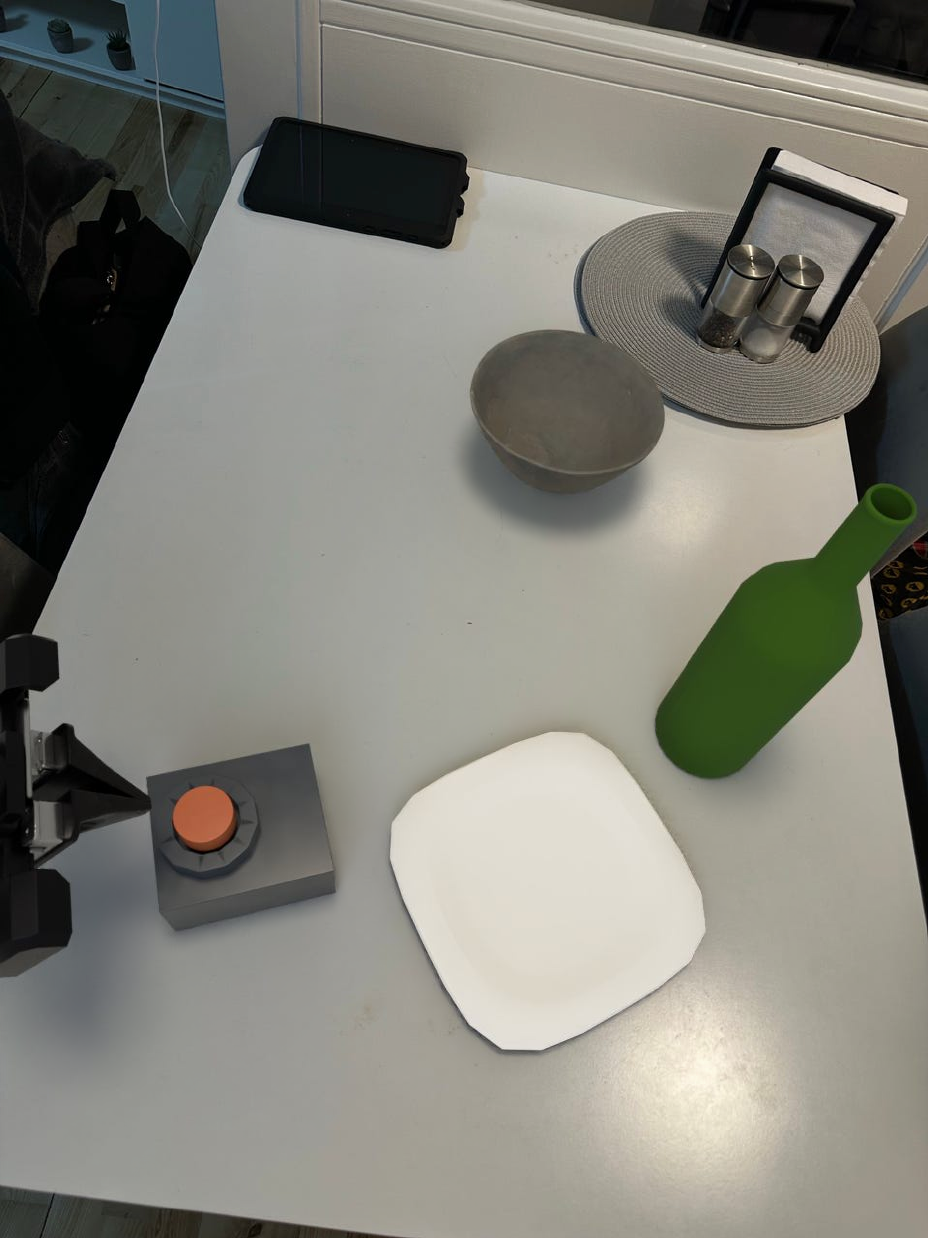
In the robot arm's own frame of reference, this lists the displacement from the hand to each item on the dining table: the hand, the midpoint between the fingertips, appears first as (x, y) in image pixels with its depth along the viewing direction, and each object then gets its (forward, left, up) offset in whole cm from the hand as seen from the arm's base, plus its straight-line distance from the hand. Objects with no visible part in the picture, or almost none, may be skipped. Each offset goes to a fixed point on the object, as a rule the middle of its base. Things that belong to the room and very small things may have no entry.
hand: (147, 806), depth 56 cm
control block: (+5, 0, -13) cm, 14 cm away
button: (+3, 0, -5) cm, 6 cm away
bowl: (+41, +33, -13) cm, 54 cm away
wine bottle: (+45, +1, -13) cm, 47 cm away
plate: (+27, -8, -13) cm, 31 cm away
